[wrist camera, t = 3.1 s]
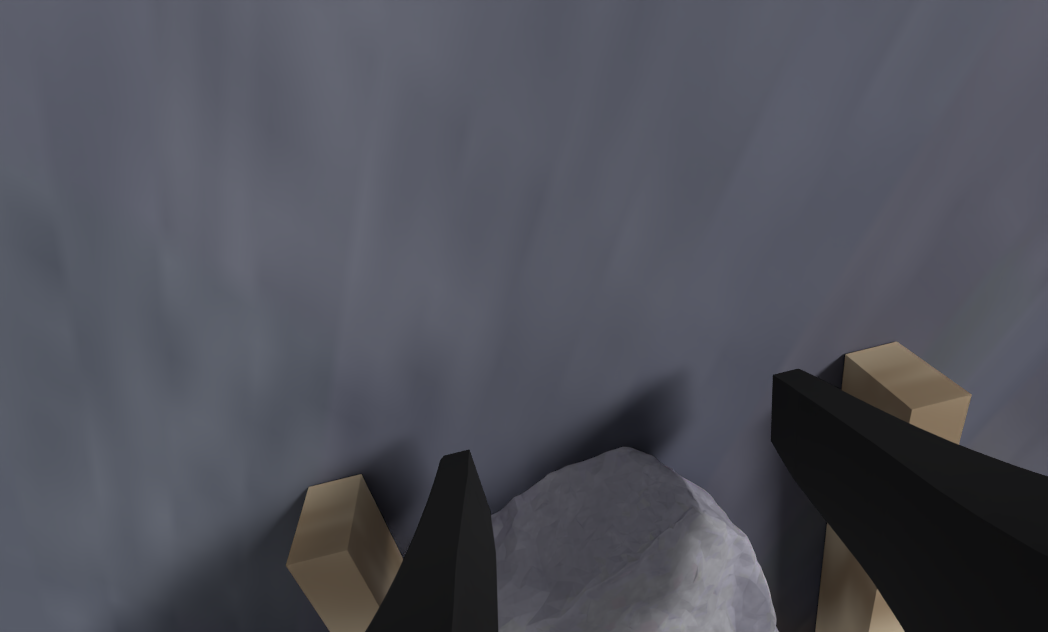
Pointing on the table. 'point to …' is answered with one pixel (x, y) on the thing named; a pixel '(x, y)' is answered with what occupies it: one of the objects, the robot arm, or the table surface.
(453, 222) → the table surface
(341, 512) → the pair of wooden posts
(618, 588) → the stone block
